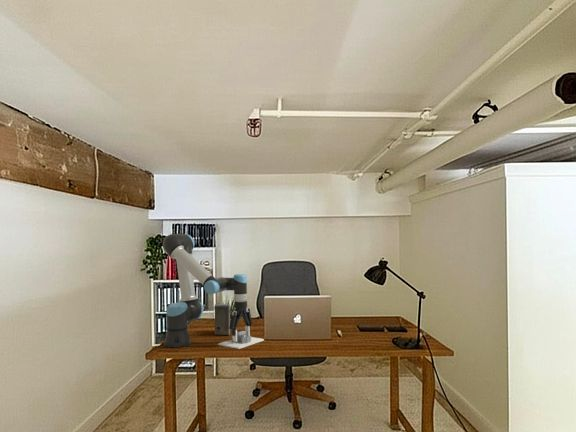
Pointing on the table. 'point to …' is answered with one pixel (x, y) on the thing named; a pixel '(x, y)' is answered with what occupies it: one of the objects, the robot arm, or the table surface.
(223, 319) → the vintage camera
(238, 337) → the light grey cube
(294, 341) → the table surface
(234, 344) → the barrel stand
